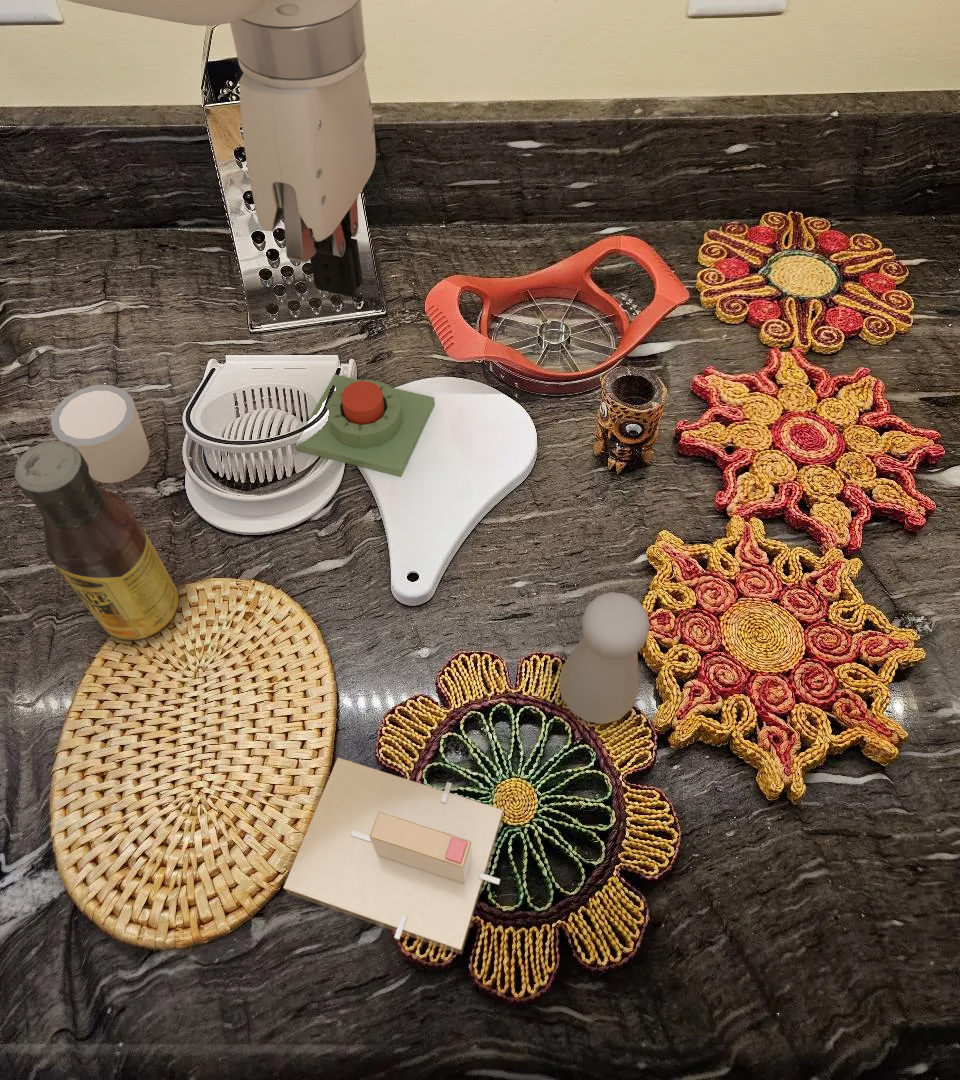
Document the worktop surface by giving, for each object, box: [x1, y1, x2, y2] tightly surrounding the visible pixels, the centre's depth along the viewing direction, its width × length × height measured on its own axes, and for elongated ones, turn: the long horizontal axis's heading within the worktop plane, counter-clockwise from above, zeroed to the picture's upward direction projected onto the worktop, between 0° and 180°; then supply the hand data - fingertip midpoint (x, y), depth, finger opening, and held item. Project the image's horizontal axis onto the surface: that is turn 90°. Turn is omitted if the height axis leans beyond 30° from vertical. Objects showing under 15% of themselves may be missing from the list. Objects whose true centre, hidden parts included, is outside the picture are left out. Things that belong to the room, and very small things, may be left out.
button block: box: [295, 373, 436, 478], centre depth 78 cm, size 10×9×4 cm
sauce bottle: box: [14, 440, 179, 642], centre depth 61 cm, size 7×6×20 cm
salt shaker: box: [558, 591, 651, 725], centre depth 60 cm, size 6×6×13 cm
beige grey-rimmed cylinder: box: [50, 384, 151, 484], centre depth 75 cm, size 7×7×7 cm
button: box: [341, 381, 384, 425], centre depth 76 cm, size 4×4×2 cm
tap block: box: [283, 757, 504, 955], centre depth 57 cm, size 13×10×3 cm
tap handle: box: [370, 812, 472, 884], centre depth 54 cm, size 6×2×5 cm, turn 73°
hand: (339, 286), depth 65 cm, fingers closed
